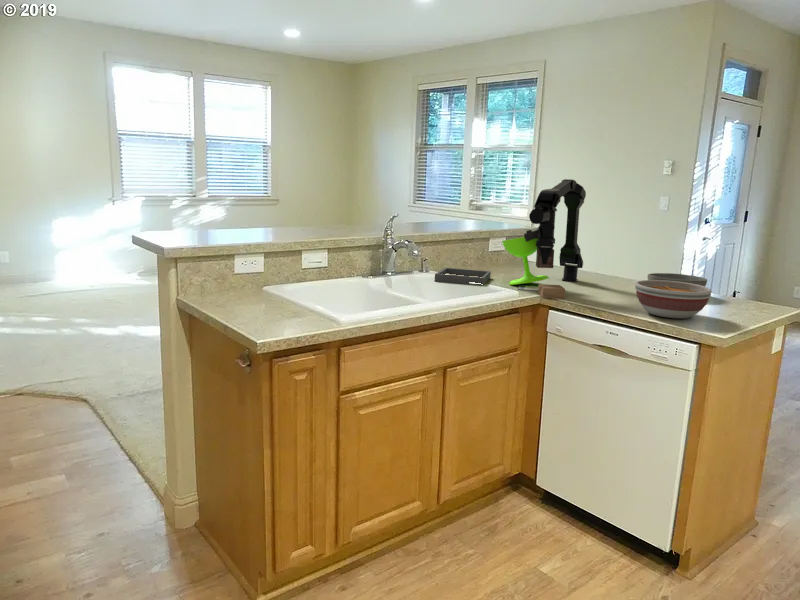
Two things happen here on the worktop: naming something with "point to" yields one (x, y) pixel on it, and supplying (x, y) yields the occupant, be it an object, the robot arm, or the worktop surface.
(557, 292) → the base block
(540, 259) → the box
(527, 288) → the gray flat panel
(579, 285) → the worktop surface
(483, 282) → the glass rack frame
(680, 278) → the bowl
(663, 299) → the bowl
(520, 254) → the wineglass
